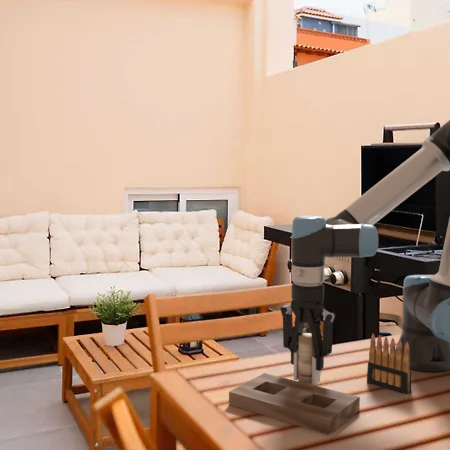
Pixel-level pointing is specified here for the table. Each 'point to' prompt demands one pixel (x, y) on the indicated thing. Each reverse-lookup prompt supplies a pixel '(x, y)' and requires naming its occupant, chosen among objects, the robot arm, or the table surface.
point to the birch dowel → (305, 358)
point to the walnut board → (295, 402)
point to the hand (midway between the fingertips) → (306, 380)
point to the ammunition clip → (389, 366)
